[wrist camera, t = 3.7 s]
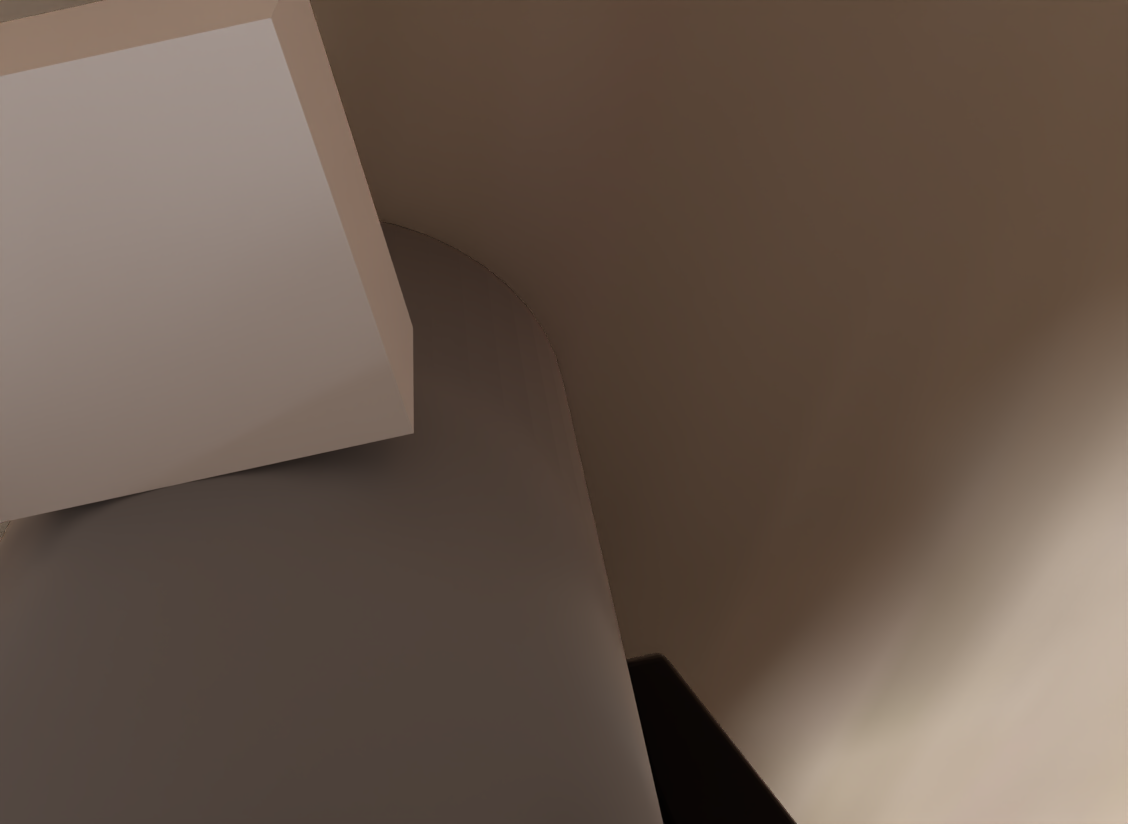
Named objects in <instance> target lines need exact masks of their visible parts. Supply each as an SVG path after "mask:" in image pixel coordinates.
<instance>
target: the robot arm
mask: <svg viewBox="0 0 1128 824" xmlns="http://www.w3.org/2000/svg"><path fill="white" fill-rule="evenodd" d="M626 661H627V666H628V670H629V675H630V679H631V683H632V688H633V692H634V697H635V701H636V706H637V710H638V714H639V719H640V723H641V728H642V732H643V736H644V741H645V745H646V750H647V754H648V758H649V763H650V767H651V772H652V776H653V780H654V785H655V789H656V794H657V798H658V802H659V807H660V811H661V816H662V820H663V824H797V823H796V822H795V821H794V819H793V818H792V817H791V816H790V814H789V813H788V812H787V811H786V809H785V808H784V807H783V805H782V804H781V803H780V802H779V800H778V799H777V798H776V797H775V795H774V794H773V793H772V791H771V790H770V789H769V788H768V786H767V785H766V784H765V782H764V781H763V780H762V779H761V777H760V776H759V775H758V774H757V772H756V771H755V770H754V768H753V767H752V766H751V765H750V763H749V762H748V761H747V760H746V758H745V757H744V756H743V754H742V753H741V752H740V751H739V749H738V748H737V747H736V746H735V744H734V743H733V742H732V740H731V739H730V738H729V737H728V735H727V734H726V733H725V732H724V730H723V729H722V728H721V726H720V725H719V724H718V723H717V721H716V720H715V719H714V717H713V716H712V715H711V714H710V712H709V711H708V710H707V709H706V707H705V706H704V705H703V703H702V702H701V701H700V700H699V698H698V697H697V696H696V695H695V693H694V692H693V691H692V689H691V688H690V687H689V686H688V684H687V683H686V682H685V681H684V679H683V678H682V677H681V675H680V674H679V673H678V672H677V670H676V669H675V668H674V667H673V665H672V664H671V663H670V661H669V660H668V659H667V658H666V657H665V656H664V655H662V654H659V653H653V654H649V655H644V656H640V657H635V658H630V659H627V660H626Z"/></svg>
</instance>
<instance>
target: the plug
mask: <svg viewBox="0 0 1128 824" xmlns="http://www.w3.org/2000/svg"><path fill="white" fill-rule="evenodd" d="M6 521H10V522H9V524H8V526H7V528H6V530H5V533H4V535H3V537H2V539H1V541H0V824H663V820H662V816H661V811H660V807H659V802H658V798H657V794H656V789H655V785H654V780H653V776H652V772H651V767H650V763H649V758H648V754H647V750H646V745H645V741H644V736H643V732H642V728H641V723H640V719H639V714H638V710H637V706H636V701H635V697H634V692H633V688H632V683H631V679H630V675H629V670H628V666H627V661H626V657H625V653H624V648H623V644H622V639H621V635H620V631H619V626H618V622H617V617H616V613H615V609H614V604H613V600H612V595H611V591H610V587H609V582H608V578H607V573H606V569H605V564H604V560H603V556H602V551H601V547H600V542H599V538H598V534H597V529H596V525H595V520H594V516H593V512H592V507H591V503H590V498H589V494H588V490H587V485H586V481H585V476H584V472H583V467H582V463H581V459H580V454H579V450H578V445H577V441H576V437H575V432H574V428H573V423H572V419H571V415H570V410H569V406H568V401H567V397H566V393H565V388H564V384H563V379H562V376H561V373H560V369H559V366H558V362H557V359H556V356H555V353H554V351H553V349H552V347H551V345H550V343H549V341H548V339H547V337H546V334H545V332H544V331H543V329H542V328H541V326H540V325H539V323H538V322H537V320H536V319H535V317H534V316H533V314H532V313H531V311H530V310H529V308H528V307H527V306H526V305H525V304H524V303H523V302H522V301H521V300H520V299H519V297H518V296H517V295H516V294H515V293H514V292H513V291H512V290H511V289H510V288H509V287H508V286H507V285H506V284H505V283H504V282H502V281H501V280H500V279H499V278H498V277H496V276H495V275H494V274H493V273H492V272H490V271H489V270H488V269H487V268H486V267H484V266H483V265H481V264H479V263H478V262H476V261H475V260H473V259H472V258H470V257H468V256H467V255H465V254H464V253H462V252H461V251H459V250H457V249H455V248H453V247H451V246H449V245H446V244H444V243H442V242H440V241H438V240H436V239H434V238H432V237H430V236H427V235H424V234H421V233H418V232H415V231H412V230H409V229H406V228H403V227H400V226H397V225H393V224H389V223H384V222H379V219H378V216H377V212H376V209H375V206H374V203H373V200H372V197H371V193H370V190H369V187H368V184H367V181H366V178H365V175H364V171H363V168H362V165H361V162H360V159H359V156H358V152H357V149H356V146H355V143H354V140H353V137H352V133H351V130H350V127H349V124H348V121H347V118H346V115H345V111H344V108H343V105H342V102H341V99H340V96H339V92H338V89H337V86H336V83H335V80H334V77H333V73H332V70H331V67H330V64H329V61H328V58H327V55H326V51H325V48H324V45H323V42H322V39H321V36H320V32H319V29H318V26H317V23H316V20H315V17H314V13H313V10H312V7H311V4H310V1H309V0H103V1H99V2H94V3H89V4H85V5H80V6H76V7H71V8H66V9H62V10H57V11H52V12H48V13H43V14H38V15H34V16H29V17H25V18H20V19H15V20H11V21H6V22H1V23H0V523H1V522H6Z"/></svg>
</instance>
